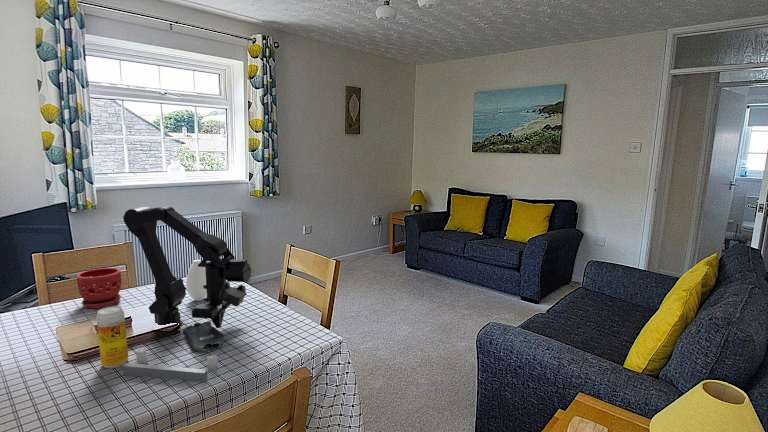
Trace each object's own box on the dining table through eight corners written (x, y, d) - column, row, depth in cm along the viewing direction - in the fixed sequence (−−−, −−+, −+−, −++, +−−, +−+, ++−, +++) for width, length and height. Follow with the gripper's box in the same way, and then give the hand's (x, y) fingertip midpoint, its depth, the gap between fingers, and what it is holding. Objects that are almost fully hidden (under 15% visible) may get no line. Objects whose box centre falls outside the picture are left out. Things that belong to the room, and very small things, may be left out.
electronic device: (179, 342, 125) (195, 355, 113) (180, 324, 125) (196, 335, 114) (211, 337, 131) (229, 349, 120) (211, 320, 131) (229, 330, 120)
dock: (122, 374, 104) (120, 362, 103) (141, 360, 111) (140, 348, 110) (205, 382, 102) (204, 369, 101) (219, 367, 108) (218, 355, 108)
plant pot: (130, 301, 151) (127, 270, 149) (90, 313, 140) (86, 280, 138) (113, 294, 158) (110, 264, 155) (73, 305, 147) (69, 273, 145)
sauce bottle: (203, 294, 159) (200, 249, 156) (214, 299, 155) (212, 253, 151) (183, 300, 153) (180, 253, 150) (195, 305, 148) (191, 257, 145)
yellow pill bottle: (108, 371, 105) (102, 316, 103) (97, 364, 108) (91, 311, 106) (133, 361, 110) (128, 309, 108) (121, 355, 114) (116, 303, 111)
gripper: (226, 292, 116) (228, 343, 119) (253, 272, 135) (255, 317, 137) (189, 290, 117) (192, 341, 120) (221, 270, 136) (224, 314, 139)
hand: (218, 327), depth 129 cm, fingers closed
